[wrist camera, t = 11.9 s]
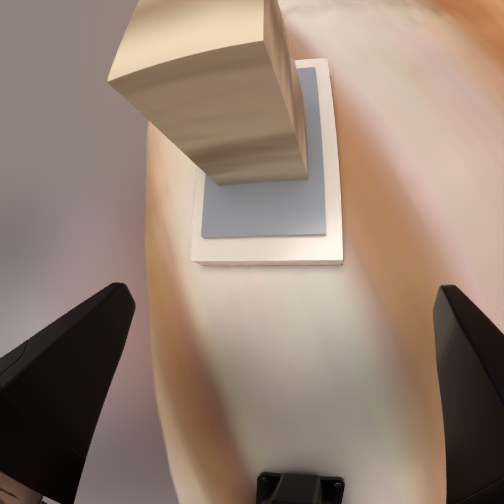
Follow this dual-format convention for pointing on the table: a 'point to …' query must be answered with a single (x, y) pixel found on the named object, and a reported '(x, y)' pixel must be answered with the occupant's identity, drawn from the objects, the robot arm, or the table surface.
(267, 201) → the pedestal
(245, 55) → the birch pillar
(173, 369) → the table surface
